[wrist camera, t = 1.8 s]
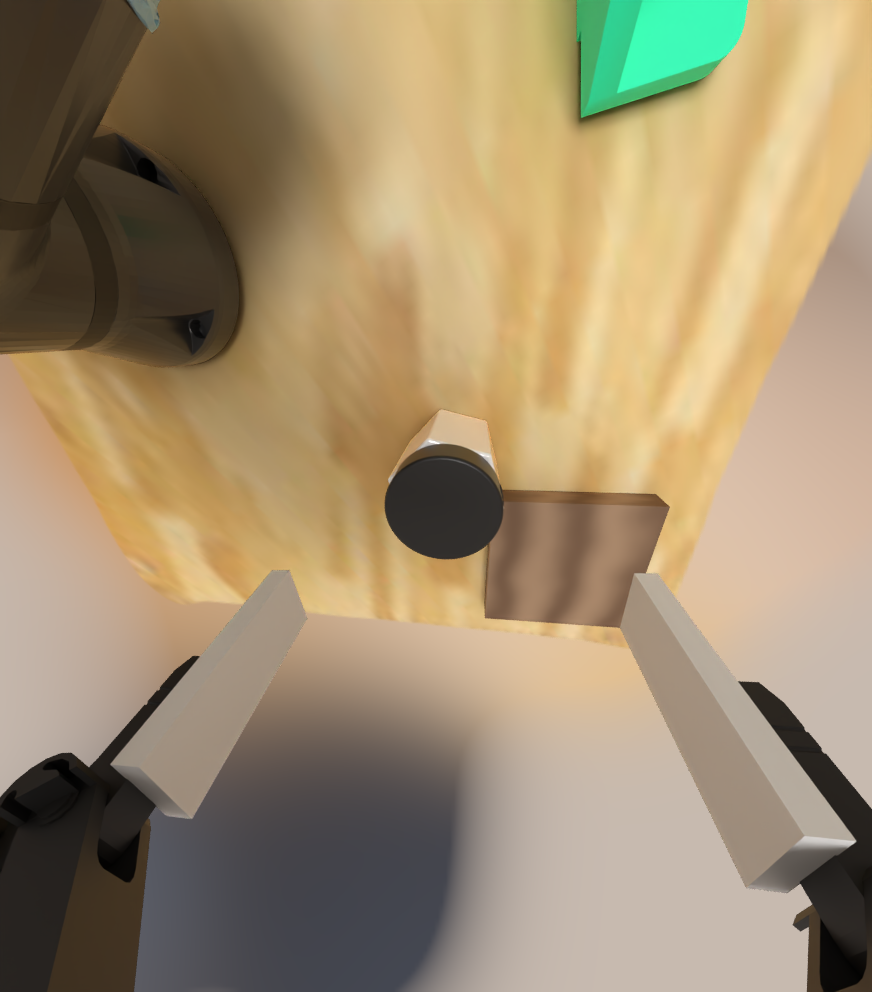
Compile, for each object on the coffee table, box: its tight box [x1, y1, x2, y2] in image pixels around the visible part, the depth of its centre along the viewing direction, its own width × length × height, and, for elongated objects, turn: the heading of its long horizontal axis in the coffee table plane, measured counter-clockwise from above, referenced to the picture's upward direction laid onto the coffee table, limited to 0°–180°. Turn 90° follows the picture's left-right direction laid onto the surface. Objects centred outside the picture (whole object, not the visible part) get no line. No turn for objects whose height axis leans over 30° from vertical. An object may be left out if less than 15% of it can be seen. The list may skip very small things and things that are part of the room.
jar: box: [385, 409, 504, 559], centre depth 27 cm, size 9×8×12 cm
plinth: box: [485, 490, 670, 628], centre depth 35 cm, size 16×16×2 cm
